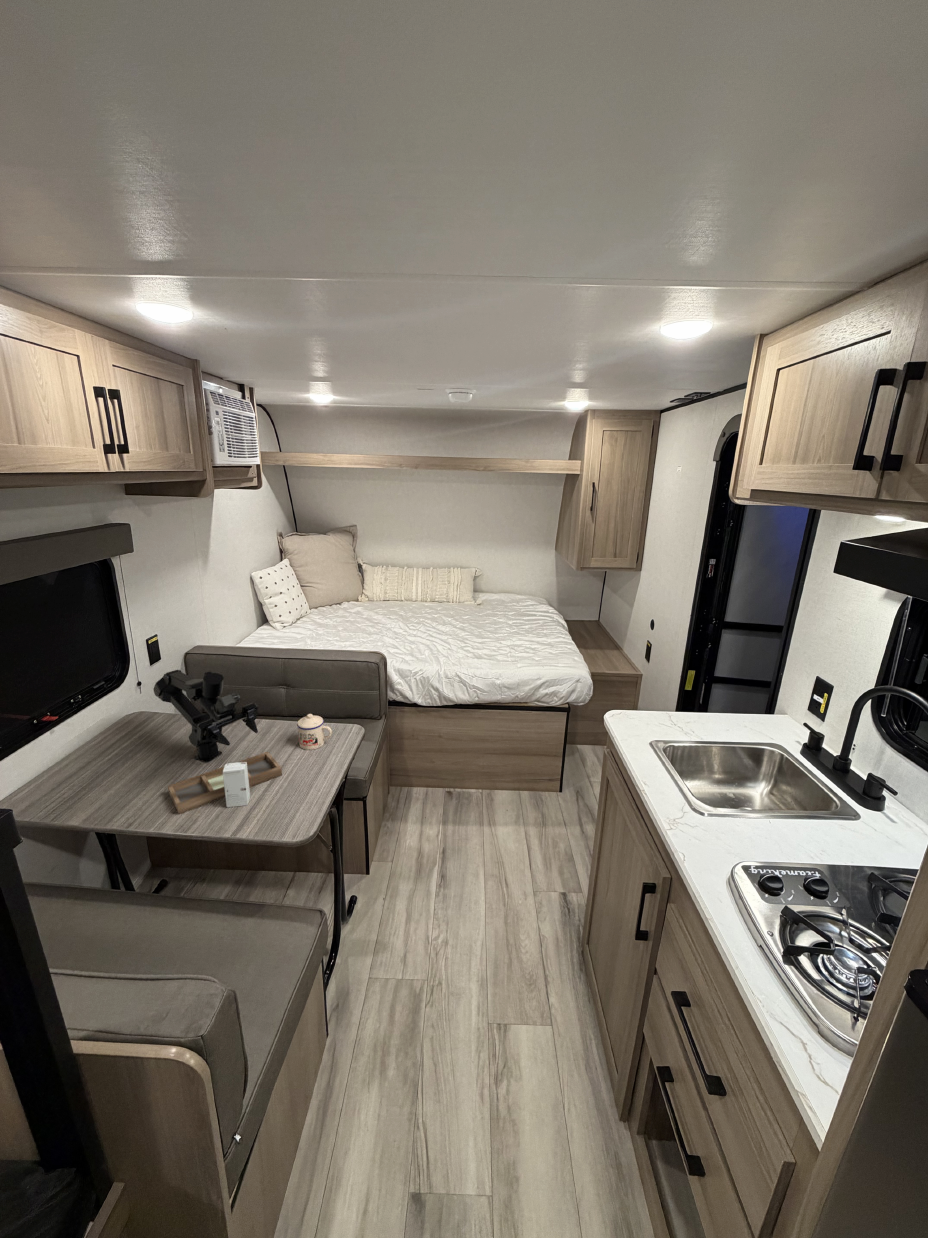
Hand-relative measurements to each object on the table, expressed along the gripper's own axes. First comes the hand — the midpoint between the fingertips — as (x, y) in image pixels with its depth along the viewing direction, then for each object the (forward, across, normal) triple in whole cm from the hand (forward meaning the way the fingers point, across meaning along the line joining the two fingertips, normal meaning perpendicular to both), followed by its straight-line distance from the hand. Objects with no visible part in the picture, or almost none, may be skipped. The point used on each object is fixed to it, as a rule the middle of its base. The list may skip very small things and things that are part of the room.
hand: (243, 738), depth 154 cm
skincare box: (+12, -7, +13) cm, 19 cm away
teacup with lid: (+4, +27, +16) cm, 32 cm away
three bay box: (+2, -5, +16) cm, 17 cm away
